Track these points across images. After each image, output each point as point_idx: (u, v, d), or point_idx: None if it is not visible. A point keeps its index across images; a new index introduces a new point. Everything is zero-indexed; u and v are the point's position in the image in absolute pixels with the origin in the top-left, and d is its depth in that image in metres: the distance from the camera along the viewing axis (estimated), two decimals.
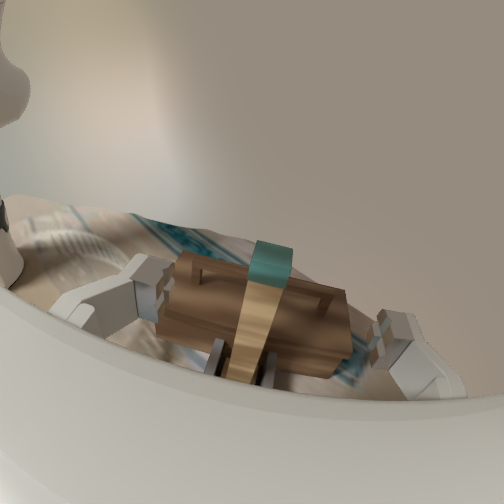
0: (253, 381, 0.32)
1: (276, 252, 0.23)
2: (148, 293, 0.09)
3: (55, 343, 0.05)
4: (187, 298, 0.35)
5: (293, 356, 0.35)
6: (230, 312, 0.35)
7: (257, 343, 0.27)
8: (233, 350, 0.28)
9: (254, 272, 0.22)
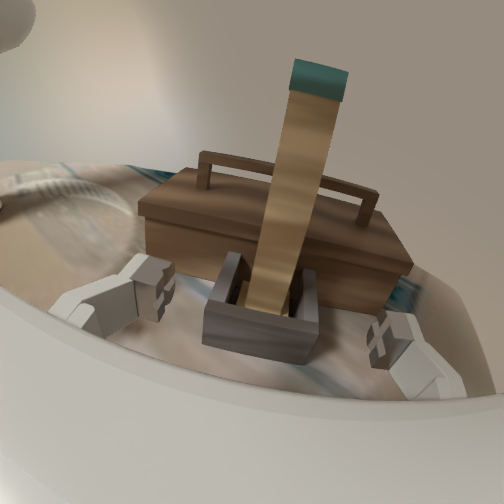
0: (286, 309, 0.24)
1: None
2: (148, 293, 0.09)
3: (55, 343, 0.05)
4: (191, 198, 0.26)
5: (336, 275, 0.26)
6: (249, 212, 0.26)
7: (300, 215, 0.18)
8: (262, 235, 0.19)
9: (299, 76, 0.13)
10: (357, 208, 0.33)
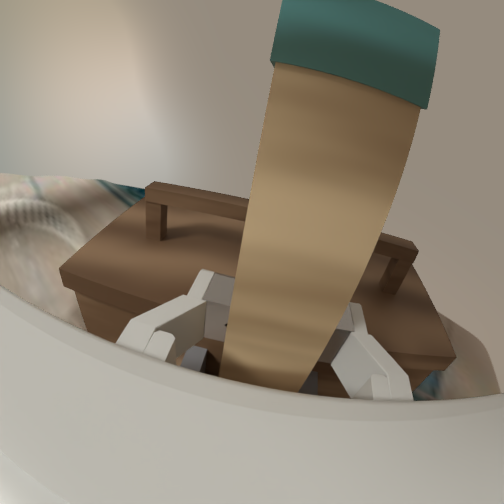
0: None
1: None
2: (222, 313, 0.08)
3: (55, 343, 0.05)
4: (132, 261, 0.17)
5: None
6: None
7: (294, 361, 0.08)
8: None
9: (303, 24, 0.04)
10: (379, 256, 0.23)
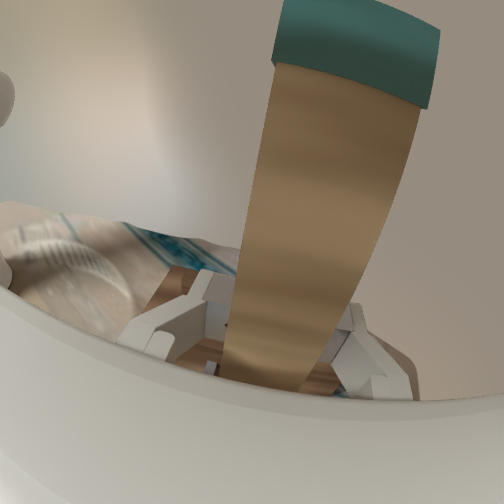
0: None
1: None
2: (222, 313, 0.08)
3: (55, 343, 0.05)
4: None
5: None
6: None
7: (294, 360, 0.08)
8: None
9: (304, 24, 0.04)
10: None
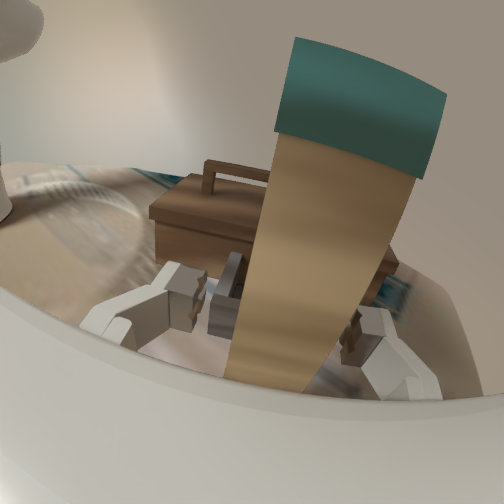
0: None
1: None
2: (183, 303, 0.08)
3: (55, 343, 0.05)
4: (197, 203, 0.29)
5: None
6: (250, 216, 0.29)
7: (287, 385, 0.09)
8: None
9: (309, 92, 0.04)
10: None
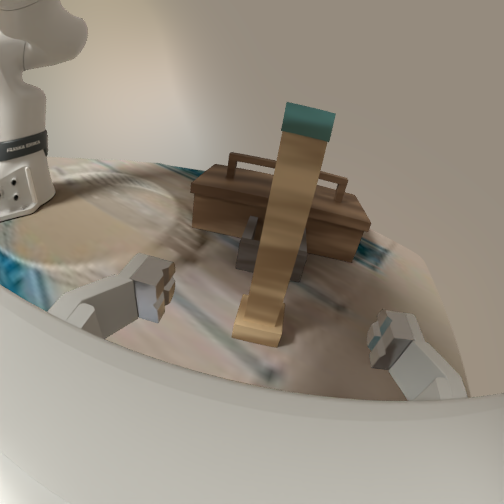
0: (281, 321, 0.26)
1: None
2: (148, 293, 0.09)
3: (55, 343, 0.05)
4: (225, 182, 0.41)
5: (319, 231, 0.40)
6: (263, 191, 0.40)
7: (291, 241, 0.21)
8: (258, 258, 0.22)
9: (290, 119, 0.16)
10: None
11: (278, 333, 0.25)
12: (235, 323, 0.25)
